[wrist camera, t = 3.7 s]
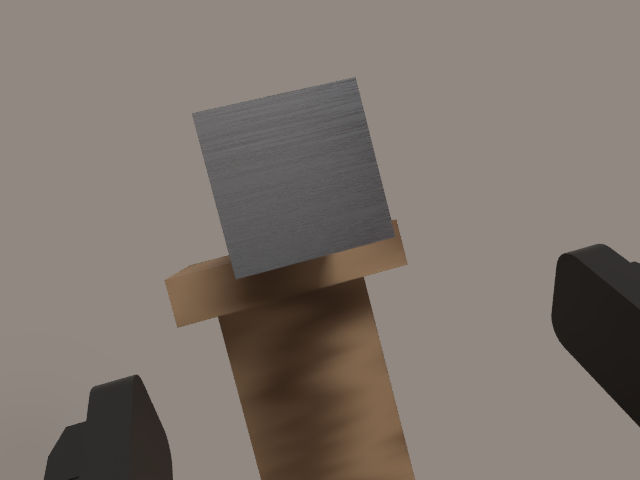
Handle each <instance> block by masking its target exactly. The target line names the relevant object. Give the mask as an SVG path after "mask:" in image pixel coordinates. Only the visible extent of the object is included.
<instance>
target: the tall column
mask: <svg viewBox="0 0 640 480" xmlns="http://www.w3.org/2000/svg"><path fill="white" fill-rule="evenodd" d="M391 221H392V225H393V229H394V233H395V237H394V238H390V239H386V240H382V241H379V242H375V243H371V244H367V245H364V246H360V247H356V248H352V249H349V250H345V251H341V252H337V253H334V254H330V255H326V256H322V257H319V258H315V259H311V260H307V261H304V262H300V263H296V264H292V265H289V266H285V267H281V268H277V269H274V270H270V271H266V272H262V273H259V274H255V275H251V276H247V277H244V278H240V279H235V275H234V271H233V267H232V264H231V260H230V256H229V255H228V256H224V257H220V258H217V259H213V260H209V261H205V262H201V263H197V264H193V265H190V266H188V267H187V268H185V269H183V270H181V271H180V272H178V273H176V274H175V275H173V276H171V277H170V278H168V279H166V280H165V283H166V287H167V290H168V295H169V298H170V302H171V306H172V309H173V313H174V317H175V320H176V324H177V327H182V326H185V325H189V324H193V323H196V322H200V321H203V320H207V319H211V318H214V317H218V318H219V322H220V326H221V330H222V333H223V338H224V341H225V345H226V349H227V353H228V356H229V360H230V364H231V368H232V371H233V375H234V379H235V383H236V386H237V390H238V394H239V398H240V402H241V405H242V409H243V413H244V417H245V420H246V424H247V428H248V432H249V435H250V439H251V443H252V446H253V450H254V454H255V458H256V462H257V466H258V469H259V473H260V477H261V480H415V478H414V474H413V470H412V466H411V462H410V458H409V454H408V450H407V446H406V442H405V438H404V434H403V430H402V426H401V422H400V418H399V414H398V410H397V406H396V403H395V399H394V395H393V391H392V387H391V383H390V379H389V375H388V371H387V367H386V363H385V359H384V355H383V351H382V347H381V343H380V340H379V336H378V331H377V327H376V323H375V320H374V316H373V312H372V308H371V304H370V300H369V296H368V292H367V288H366V284H365V280H364V276H367V275H371V274H375V273H378V272H382V271H385V270H389V269H393V268H396V267H400V266H404V265H407V260H406V257H405V252H404V248H403V244H402V240H401V236H400V233H399V228H398V224H397V220H391Z"/></svg>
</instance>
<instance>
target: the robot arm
mask: <svg viewBox="0 0 640 480" xmlns="http://www.w3.org/2000/svg"><path fill="white" fill-rule="evenodd" d="M551 317H552V324H553V328H554V331H555V333H556V336H557V337H558V339H559V341H560V342H561V344H562V345H563V346H564V348H565V349H566V350H567V351H568V352H569V353H570V354H571V355H572V356H573V357H574V358H575V359H576V360H577V361H578V362H579V363H580V364H581V366H582V367H583V368H584V369H585V370H586V371H587V372H588V373H589V374H590V375H591V376H592V377H593V378H594V379H595V380H596V381H597V382H598V384H600V386H601V387H602V388H604V390H605V391H606V392H607V393H608V394H609V395H610V396H611V397H612V398H613V399H614V400H615V401H616V402H617V404H618V405H619V406H620V407H621V408H622V409H623V410H624V411H625V412H626V413H627V414H628V415H629V416H630V417H631V418H632V420H634V421H635V423H636V424H637V425H638V426H639V427H640V263H637V262H631V263H630V262H629V261H627V260H626V259H625V258H623V257H622V256H620V255H619V254H618V253H616V252H615V251H614V250H612V249H611V248H610V247H608V246H606V245H604V244H596V245H593V246H589V247H585V248H582V249H578V250H575V251H572V252H568V253H564V254H562V255H561V256H560V257H559V259H558V261H557V267H556V277H555V286H554V295H553V305H552V315H551ZM172 474H173V473H172V460H171V453H170V449H169V444H168V440H167V436H166V433H165V431H164V428H163V426H162V424H161V422H160V420H159V417H158V415H157V413H156V411H155V408H154V406H153V404H152V402H151V400H150V397H149V395H148V393H147V390H146V388H145V386H144V384H143V382H142V380H141V378H140V377H139V376H138V375H133V376H129V377H126V378H122V379H119V380H115V381H112V382H108V383H105V384H101V385H98V386H94V387H93V388H92V389H91V391H90V397H89V404H88V412H87V420H86V421H85V422H82V423H78V424H75V425H72V426H68V427H66V428H65V430H64V431H63V433H62V435H61V437H60V438H59V440H58V441H57V443H56V445H55V446H54V448H53V450H52V451H51V453H50V455H49V456H48V461H47V466H46V471H45V476H44V480H173V475H172Z"/></svg>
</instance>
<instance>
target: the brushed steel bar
mask: <svg viewBox="0 0 640 480" xmlns="http://www.w3.org/2000/svg"><path fill="white" fill-rule="evenodd" d="M192 116H193V119H194V123H195V127H196V131H197V134H198V138H199V142H200V146H201V150H202V153H203V157H204V161H205V165H206V169H207V172H208V176H209V180H210V184H211V188H212V191H213V195H214V199H215V203H216V207H217V210H218V214H219V218H220V222H221V226H222V229H223V233H224V237H225V241H226V244H227V248H228V252H229V256H230V260H231V264H232V267H233V271H234V275H235V279H240V278H244V277H247V276H251V275H255V274H259V273H262V272H266V271H270V270H274V269H277V268H281V267H285V266H289V265H292V264H296V263H300V262H304V261H307V260H311V259H315V258H319V257H322V256H326V255H330V254H334V253H337V252H341V251H345V250H349V249H352V248H356V247H360V246H364V245H367V244H371V243H375V242H379V241H382V240H386V239H390V238H394V237H395V233H394V229H393V225H392V221H391V217H390V213H389V210H388V205H387V202H386V197H385V194H384V189H383V185H382V181H381V177H380V173H379V169H378V165H377V162H376V158H375V154H374V150H373V146H372V141H371V137H370V134H369V130H368V126H367V122H366V117H365V114H364V110H363V106H362V102H361V98H360V94H359V90H358V86H357V82H356V78H355V77H354V78H350V79H345V80H340V81H336V82H331V83H327V84H322V85H318V86H313V87H309V88H304V89H300V90H296V91H291V92H286V93H282V94H277V95H273V96H268V97H264V98H259V99H255V100H250V101H246V102H241V103H237V104H232V105H228V106H224V107H219V108H214V109H210V110H205V111H201V112H196V113H192Z"/></svg>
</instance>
